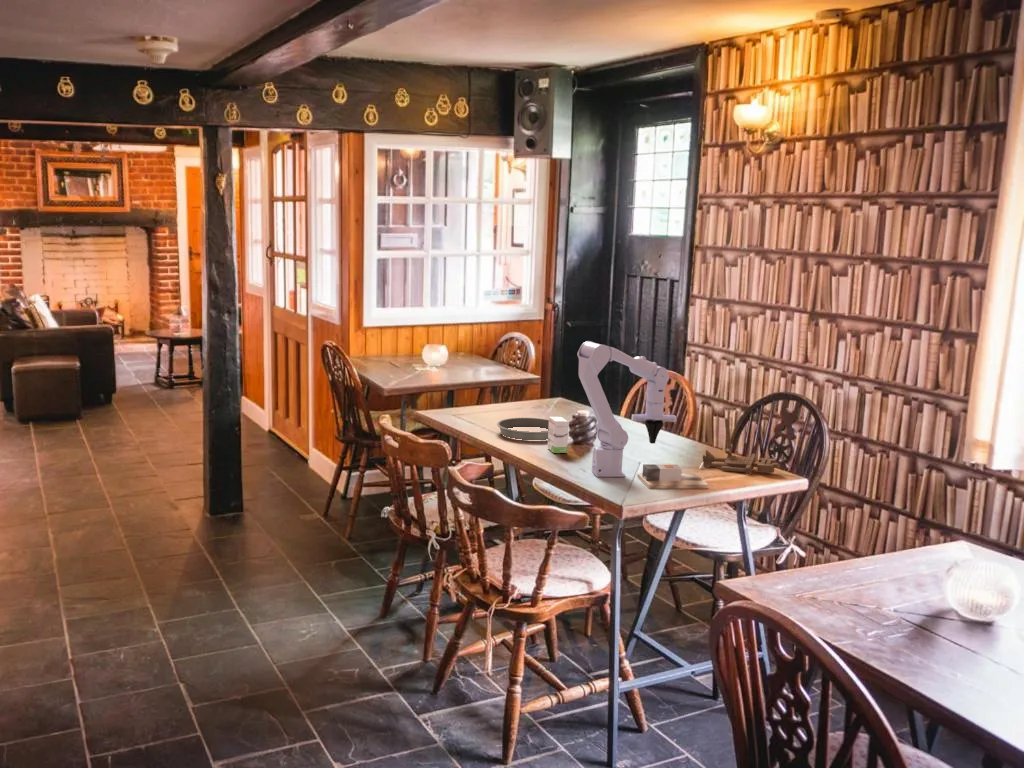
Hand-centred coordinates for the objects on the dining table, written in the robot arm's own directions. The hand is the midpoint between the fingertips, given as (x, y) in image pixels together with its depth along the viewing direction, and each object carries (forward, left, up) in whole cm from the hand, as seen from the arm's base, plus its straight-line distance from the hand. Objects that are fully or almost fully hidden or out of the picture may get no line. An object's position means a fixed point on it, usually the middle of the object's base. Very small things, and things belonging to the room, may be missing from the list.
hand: (652, 442), depth 312 cm
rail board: (+3, -15, -9) cm, 18 cm away
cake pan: (-33, +50, -10) cm, 61 cm away
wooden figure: (+31, 0, -10) cm, 32 cm away
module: (+1, -15, -8) cm, 17 cm away
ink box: (-27, +25, -10) cm, 38 cm away
